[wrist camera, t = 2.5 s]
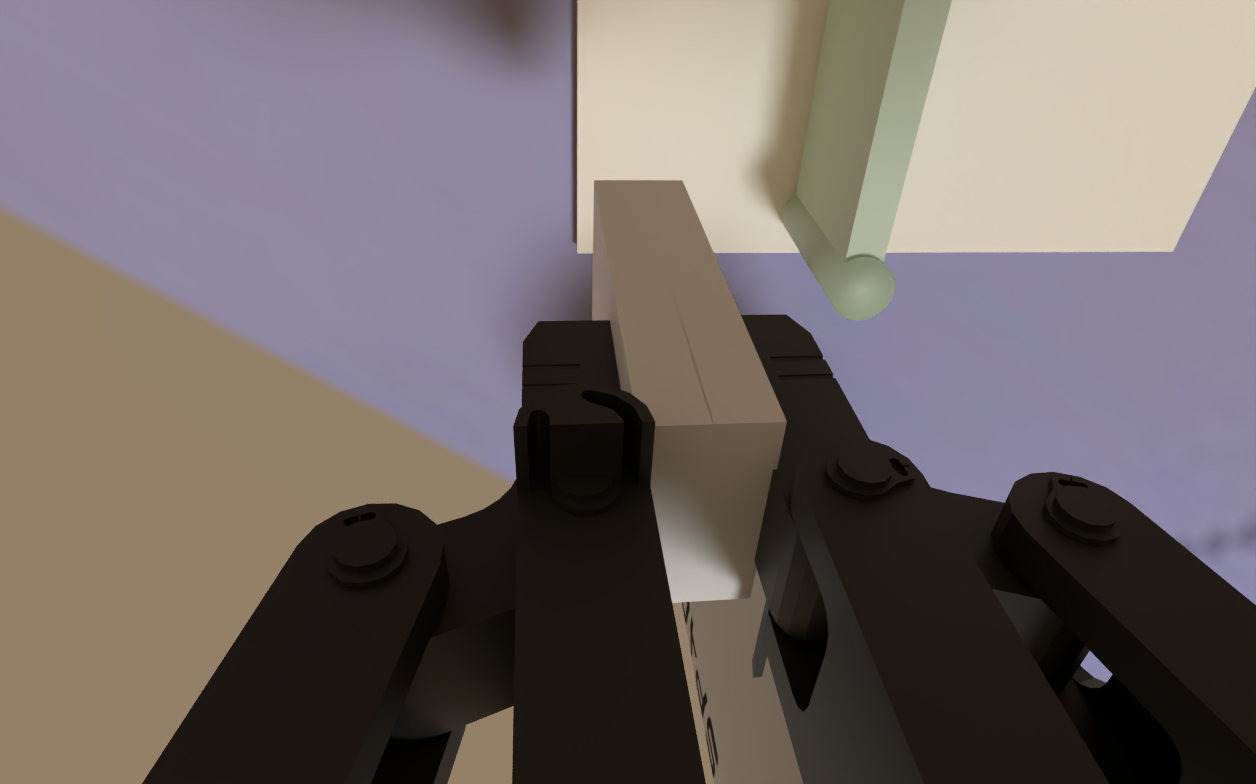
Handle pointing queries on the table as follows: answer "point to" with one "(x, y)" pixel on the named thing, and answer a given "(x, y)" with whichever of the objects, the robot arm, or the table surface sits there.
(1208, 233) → the table surface
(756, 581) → the travel mug
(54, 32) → the table surface
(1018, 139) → the card
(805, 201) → the hinged rail
